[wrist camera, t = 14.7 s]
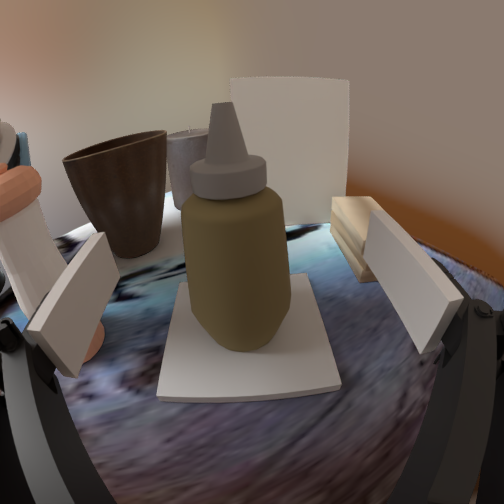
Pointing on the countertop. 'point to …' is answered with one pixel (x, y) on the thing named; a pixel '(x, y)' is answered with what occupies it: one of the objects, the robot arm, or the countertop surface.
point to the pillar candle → (184, 160)
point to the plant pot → (123, 189)
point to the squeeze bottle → (235, 241)
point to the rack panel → (297, 139)
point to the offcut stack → (353, 231)
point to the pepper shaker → (30, 244)
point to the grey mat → (248, 357)
